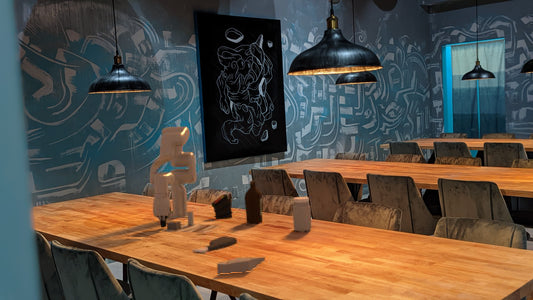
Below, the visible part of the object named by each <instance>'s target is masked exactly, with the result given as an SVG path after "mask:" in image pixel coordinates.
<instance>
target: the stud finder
mask: <svg viewBox="0 0 533 300" xmlns="http://www.w3.org/2000/svg"><path fill="white" fill-rule="evenodd" d="M181 222H182V221H181V220H180V221H177V220H171V221H168V222H166V229H167V230H178V229H180V228H181V224H182V223H181Z"/></svg>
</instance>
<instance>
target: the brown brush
mask: <svg viewBox="0 0 533 300" xmlns="http://www.w3.org/2000/svg"><path fill="white" fill-rule="evenodd" d="M237 242H238V240H237V238H236V237H234V236H233V237H232V236H221V237H217V238H214V239H212V240H211V241H209V245H207V246H204V247H199V248H193V249H192V252H195V253H202V254H206V253H207V252H210V251H215V249H216V250H220V249H219V248H221V249H224V248H227V246H228V247H230V246H232V244H233V245H235V244H237ZM229 245H230V246H229ZM223 247H224V248H223Z"/></svg>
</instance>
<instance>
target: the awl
mask: <svg viewBox="0 0 533 300" xmlns="http://www.w3.org/2000/svg"><path fill="white" fill-rule="evenodd" d="M187 214H188V218H187V224H188V226H193V225H194V211H193V210H191V211H188V212H187Z"/></svg>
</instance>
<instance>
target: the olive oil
mask: <svg viewBox="0 0 533 300" xmlns="http://www.w3.org/2000/svg"><path fill="white" fill-rule="evenodd" d="M244 205H245V206H244V207H245V215H246V218H245V219H246V223H247V224H253V225H254V224H255V225H256V224H257V225H258V224H261V223H263V195H262V192H261V191H260V190H259V189H258V188H257V187H256V181H255V180H250V181H249V188H248V190H247V191H246V192H245V193H244Z"/></svg>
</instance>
